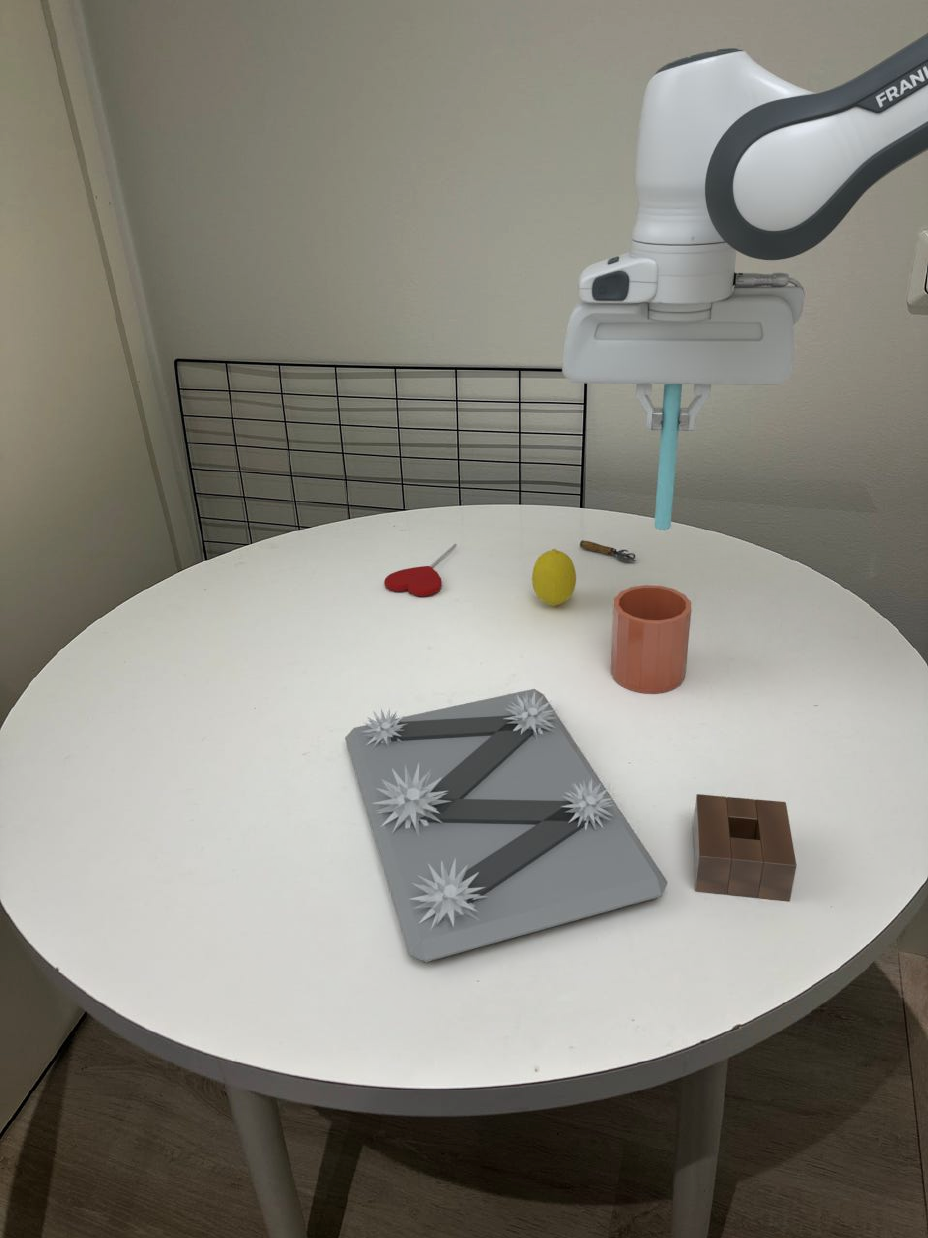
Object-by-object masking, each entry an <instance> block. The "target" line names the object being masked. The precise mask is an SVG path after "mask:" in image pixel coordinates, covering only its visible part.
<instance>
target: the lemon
mask: <svg viewBox="0 0 928 1238" xmlns="http://www.w3.org/2000/svg"><path fill="white" fill-rule="evenodd" d="M531 583H532V589H533V591H534V593H535V595H536V597H537V598H538V599H539V600H540V601H542V602H543V603H545V604H548V605H550V606H551V607H557V606H558V605H560V604H563V603H565V602H567V600H570V597H572V595H573V593H574V592H575V589H576V586H577V585H576V584H577V572H576V568H575V564H574V562H573V560H572V558H571V557H570V556H569V555H568V554H567V553H565V552H564V551H561V550H557V548H553V549H551V550H548V551H545V552H543V553H541V555H540V556H539V557H538V558H537V559H536V561H535V562H534V565H533V569H532V577H531Z"/></svg>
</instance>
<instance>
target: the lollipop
mask: <svg viewBox="0 0 928 1238" xmlns="http://www.w3.org/2000/svg"><path fill="white" fill-rule="evenodd" d="M456 546H457V544H456V543H454V544H453V545H452V546H451V547H449V548H448V549H447V550H446V551H445V552H444V553H443V554H442V555H440V556H439V557H438V558H437V559H436V560H435V561H434V562H432V564H430V565H424V566H422V565H421V566H414V567H409V568H404V569H400V570H397V571H394V572H392V573H389V574H388V575H387V576H386V577H385V579H384V581H383V585H384V586H385V588H387V589H388V590H389V591H393V592H407V591H408V592H409V593H410V594H412V595H413V596H417V597H429V596H432V595H434V594H437V593H438V592H439V591H440V590H441V588H442V585H443V582H442V578H441V577H440V575H439V573H438V572H437V571H436V569H434V567H435V566H436V565H437V564H438V563H439V562H440V561H441V560H442V559H443V558H444V557H446V556H447V555H448V554H449V553H450V552H451V551H452V550H453V549H455V548H456Z"/></svg>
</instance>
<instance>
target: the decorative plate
mask: <svg viewBox="0 0 928 1238" xmlns="http://www.w3.org/2000/svg"><path fill="white" fill-rule="evenodd" d="M551 702H552V700H548V698H547V697H546V696H545V694H544V693H542V692H541V691H539V690H537V689H535V688H531V689H526V690H522V691H517V692H513V693H508V694H503V695H499V696H495V697H490V698H489V697H488V698H485V699H479V700H475V701H470V702H467V703H462V704H457V705H453V706H448V707H444V708H443V707H442V708H439V709H434V710H430V711H425V712H421V713H417V714H412V715H406V716H401V717H397V716H398V714H397V712H398V710H396V711H395V712H394V713H392V714H391V707H388V711H387V714H386V716H385V714H384V711H383V709H382V708H380V717H379V715H378V714H377V713H376V711H373V715H374V717H375V720H374V719H372V718H370V717H369V716H367V721H368V722H369V723H367V722H364V725H360V726H355V727H353V728H352V730H351V731H350V732H349V733H348V734H347V735H346V736H345V743H346V747H347V750H348V753H349V757H350V761H351V763H352V767H353V770H354V774H355V776H356V780H357V783H358V786H359V787H358V788H359V790H360V795H361V798H362V800H363V803H364V807H365V811H366V814H367V817H368V820H369V824H370V828H371V831H372V834H373V838H374V841H375V844H376V848H377V851H378V855H379V858H380V862H381V865H382V869H383V871H384V875H385V878H386V881H387V885H388V889H389V892H390V895H391V899H392V902H393V905H394V909H395V912H396V915H397V919H398V923H399V925H400V929H401V932H402V935H403V936H402V937H403V939H404V943H405V946H406V950H407V952H408V953H407V954H408V956H411V957H412V958H414V959H416V960H420V961H422V962H425V963H428V962H431V961H435V960H438V959H442V958H445V957H449V956H452V955H456V954H459V953H460V954H461V953H463V952H468V951H471V950H474V949H477V948H481V947H485V946H489V945H492V944H496V943H500V942H503V941H505V940H511V939H513V938H516V937H520V936H524V935H527V934H531V933H534V932H538V931H541V930H545V929H550V928H552V927H556V926H560V925H563V924H568V923H571V922H574V921H578V920H581V919H586V918H589V917H593V916H595V915H599V914H603V913H607V912H610V911H615V910H618V909H621V908H624V907H627V906H631V905H635V904H638V903H641V902H646V901H649V900H650V901H651V900H653V899H657V898H660V897H663V896H662V895H663V894H664V892H665V889H666V887H667V886H668V880H667V878H666V877H665V876H664V874H663V873H662V871H661V870H660V868H659V867H658V865H657V864H656V862H655V861H654V859H653V858H652V856H651V855H650V852H648V849H646V847H645V845H644V844H643V842H642V841H641V839H640V838H639V836H638V835H637V833H636V832H635V830H634V828H633V827H632V826H631V824H630V822H629V821H628V820H627V818H626V817H625V815H624V814H623V812H622V811H621V809H620V808H619V806H618V804H617V803H616V802H615V800H614V797H612V795H611V794H610V793H609V789H610V788H606V787H605V785H604V784H603V782H602V780H601V779H600V777H599V776H598V773H596V771H595V770H594V768H593V767H592V765H591V764H590V762H589V761H588V759H587V758H586V756H585V755H584V753H583V752H582V750H581V749H580V747H579V745H578V744H577V743H576V741H575V739H574V738H573V736H572V735H571V734H570V732H569V730H568V729H567V727H566V726H565V724H564V723H563V722H562V720H561V718H560V717H559V716H558V714H557V713H556V709H554V708H553V707H552V704H551Z"/></svg>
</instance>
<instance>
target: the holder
mask: <svg viewBox="0 0 928 1238" xmlns="http://www.w3.org/2000/svg"><path fill="white" fill-rule="evenodd" d="M694 805H695V806H694V814H693V823H692V840H693V841H692V842H693V843H692V844H693V845H692V846H693V866H694V867H693V868H694V871H693V872H694V891H695V892H701V893H709V894H717V895H728V896H735V897H736V896H737V897H744V898H745V897H747V898H754V899H757V898H758V899H764V900H772V901H773V900H774V901H784V902H790V901H791V897H792V892H793V887H794V881H795V877H796V871H797V865H798V864H797V860H796V859H797V858H796V854H795V848H794V843H793V837H792V830H791V824H790V819H789V813H788V807H787V806H788V805H787V802H786V801H781V800H779V801H778V800H770V799H769V800H766V799H757V798H756V799H755V798H745V797H744V798H742V797H733V796H724V795H712V794H699V793H697V794H696V795H695V803H694Z"/></svg>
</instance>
